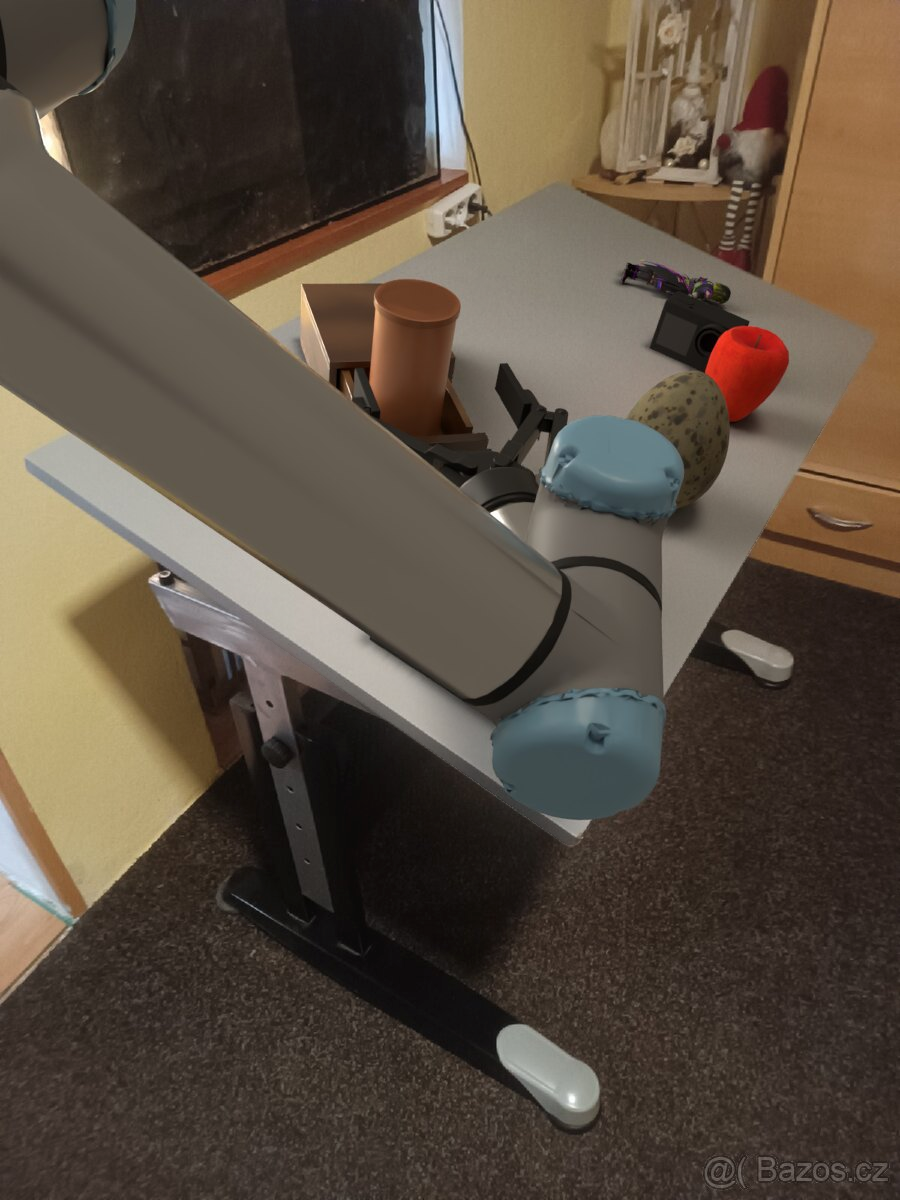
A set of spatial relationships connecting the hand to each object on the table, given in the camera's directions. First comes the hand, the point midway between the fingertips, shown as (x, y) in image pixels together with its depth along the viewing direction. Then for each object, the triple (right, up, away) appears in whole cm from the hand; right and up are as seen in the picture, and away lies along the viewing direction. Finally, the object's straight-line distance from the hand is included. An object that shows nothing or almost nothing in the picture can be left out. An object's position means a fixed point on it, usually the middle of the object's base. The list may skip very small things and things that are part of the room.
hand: (431, 378), depth 75 cm
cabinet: (-8, +6, +21) cm, 23 cm away
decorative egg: (+23, -9, +13) cm, 28 cm away
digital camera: (+33, +12, +36) cm, 50 cm away
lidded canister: (-3, -3, +12) cm, 12 cm away
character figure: (+35, +26, +49) cm, 65 cm away
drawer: (-3, -5, +11) cm, 12 cm away
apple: (+36, +3, +27) cm, 45 cm away
